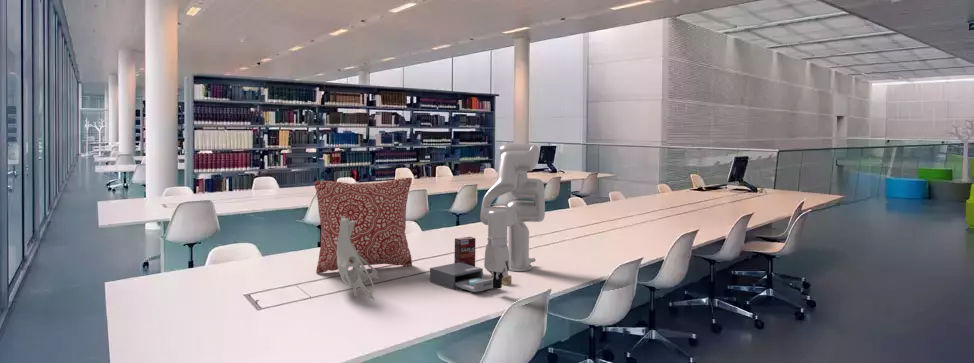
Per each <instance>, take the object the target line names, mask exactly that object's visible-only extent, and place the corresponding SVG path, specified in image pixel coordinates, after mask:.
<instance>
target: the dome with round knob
mask: <svg viewBox="0 0 974 363" xmlns="http://www.w3.org/2000/svg"><path fill="white" fill-rule="evenodd" d="M483 279H484V278H483ZM483 279H470V280H469V285H470V286H474V283H476V282H480V281H484V280H483Z"/></svg>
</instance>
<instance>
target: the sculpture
mask: <svg viewBox="0 0 974 363" xmlns="http://www.w3.org/2000/svg"><path fill="white" fill-rule="evenodd" d="M354 225H355V222H354V221H353V220H352V221H349V220H348V218H345V217H344V216H342V219H341V220H340V230H339V235H338V240H337V266H338V273H339V276H340V279H341V281H342V283H345V284H346V285H349V286H350V287H351V288H352V290H353V294H354V295H353V296H354V298H356V297H357V296H358V292H357V289H358V288H360V289H361V290H362V291H363V292H364V295H365V296H368V298H371V299H372V300H374V301H375V297H374V296H373V293H374V292H375V285H374V283H373V280H372V279H379V273H378V271H377V270H376V269H375V267H373V265H369V264H368V263H367V262H366V261H365V260H364V259H363V258H362V257H361V256H360V255H359V254H358V252H357V251H356V249H355V247H354V246H353V244H352V243H351V241H350V237H351V234H352V231H353V228H354ZM349 259H352V261H353V263H350V262H349ZM360 260H361V261H362V262H363V263H365V264H366V265H363V264H362V262H361V261H360ZM359 263H360V264H361V265H360V264H359ZM350 266H353V267H352V269H351V270H349V268H351V267H350ZM366 266H367V267H368V268H370V269H371V271H372V272H370V273H369V272H368V270H367V268H366ZM369 280H370V283H371V285H372V289H373V290H372V292H371V291H369V288H367V287H366V286H365V284H364V283H363V282H367V281H369Z"/></svg>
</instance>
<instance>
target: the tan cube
mask: <svg viewBox="0 0 974 363" xmlns="http://www.w3.org/2000/svg"><path fill="white" fill-rule="evenodd" d="M508 285H512V275H510V274H508V275H506V276H503V278H502V286H508Z"/></svg>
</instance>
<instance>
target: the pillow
mask: <svg viewBox="0 0 974 363" xmlns="http://www.w3.org/2000/svg"><path fill="white" fill-rule="evenodd" d="M412 181H413V178H412V177H404V178H396V179H392V180H389V181H383V182H382V181H381V182H371V183H370V182H368V183H366V182H365V183H364V182H363V183H360V182H359V183H356V182H355V183H351V182H350V183H348V182H341V181H334V180H318V179H317V180H314V188H315V191H316V198H317V203H318V205H317V206H318V216H319V221H320V228H321V231H320V247H319V248H320V250H319V255H318V262H317V266H316V269H315V270H316V272H315V274H316V273H317V274H322V273H326V272H328V271H332V272H333V271H337V270H338V266H337V240H338V235H339V230H340V220H341V219H342V216H344V217H345V218H348V220H349V221H352V220H353V221H354V222H355V225H354V228H353V231H352V234H351V237H350V241H351V243H352V244H353V246H354V247H355V249H356V251H357V252H358V254H359V255H360V256H361V257H362V258H363V259H364V260H365V261H366V262H367V263H368V264H369V265H370V266H374V265H375V266H377V265H392V266H403V267H411V266H413V260H412V254H411V250H410V248H409V244H408V240H407V235H406V228H407V226H406V225H407V224H406V223H407V222H406V221H407V220H406V217H407V215H406V214H407V204H408V203H407V202H408V199H409V198H408V197H409V192H410V189H411V185H412ZM360 261H361V260H360ZM349 262H350V263H353V261H352V259H349ZM361 262H362V261H361ZM359 264H360V263H359ZM362 264H363V265H364V266H367V265H366V264H365V263H363V262H362ZM360 266H361V264H360ZM349 268H353V266H350V267H349ZM338 271H339V270H338Z"/></svg>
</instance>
